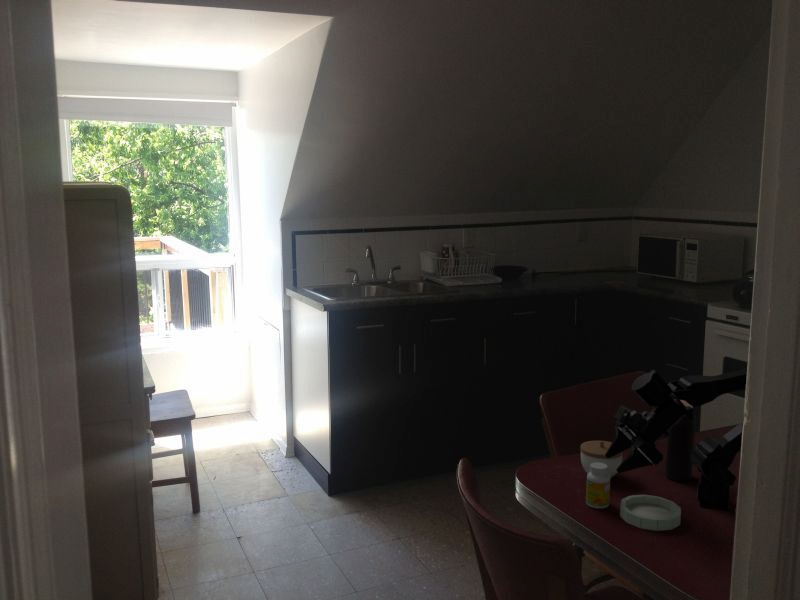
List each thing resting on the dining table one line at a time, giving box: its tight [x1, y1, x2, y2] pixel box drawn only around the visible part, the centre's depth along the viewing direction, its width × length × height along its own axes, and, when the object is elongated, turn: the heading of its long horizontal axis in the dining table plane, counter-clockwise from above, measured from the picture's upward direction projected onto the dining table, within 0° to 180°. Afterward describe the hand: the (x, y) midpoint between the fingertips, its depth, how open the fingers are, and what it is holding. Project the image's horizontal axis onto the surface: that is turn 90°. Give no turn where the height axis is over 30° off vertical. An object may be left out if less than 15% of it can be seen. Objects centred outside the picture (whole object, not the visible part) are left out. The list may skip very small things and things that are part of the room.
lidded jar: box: [579, 440, 624, 480], centre depth 193 cm, size 11×11×9 cm
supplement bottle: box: [585, 462, 611, 510], centre depth 176 cm, size 5×5×10 cm
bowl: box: [619, 494, 682, 532], centre depth 169 cm, size 13×13×2 cm
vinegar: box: [664, 400, 696, 482], centre depth 191 cm, size 7×7×20 cm
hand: (611, 464), depth 175 cm, fingers open, 9 cm apart
